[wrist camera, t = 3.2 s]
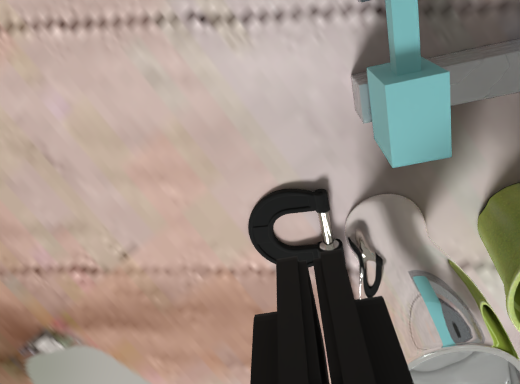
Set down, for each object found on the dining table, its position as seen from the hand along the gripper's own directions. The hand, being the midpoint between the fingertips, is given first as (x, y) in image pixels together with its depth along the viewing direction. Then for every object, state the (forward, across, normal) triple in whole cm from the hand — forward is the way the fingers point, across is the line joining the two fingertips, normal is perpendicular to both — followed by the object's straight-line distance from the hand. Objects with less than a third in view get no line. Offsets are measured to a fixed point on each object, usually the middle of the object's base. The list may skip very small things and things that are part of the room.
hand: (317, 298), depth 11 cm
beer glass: (+20, -5, +11) cm, 24 cm away
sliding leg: (+18, -6, -4) cm, 20 cm away
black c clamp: (+20, +2, +14) cm, 25 cm away
